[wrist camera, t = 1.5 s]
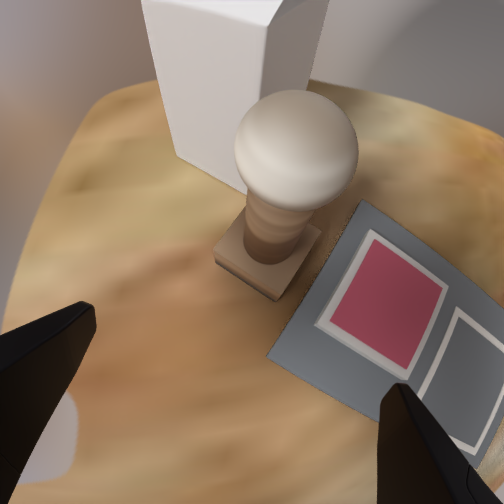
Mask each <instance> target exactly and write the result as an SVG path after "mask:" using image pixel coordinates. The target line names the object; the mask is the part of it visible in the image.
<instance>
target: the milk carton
mask: <svg viewBox="0 0 504 504" xmlns="http://www.w3.org/2000/svg"><path fill="white" fill-rule="evenodd" d="M141 3H142V8H143V13H144V18H145V23H146V28H147V33H148V38H149V42H150V46H151V51H152V56H153V60H154V65H155V69H156V74H157V78H158V82H159V87H160V91H161V95H162V99H163V103H164V107H165V111H166V115H167V119H168V123H169V127H170V131H171V135H172V139H173V143H174V147H175V151H176V154H177V156H178V157H180V158H181V159H183V160H185V161H187V162H189V163H190V164H192V165H194V166H196V167H198V168H199V169H201V170H203V171H205V172H207V173H208V174H210V175H212V176H214V177H215V178H217V179H219V180H221V181H222V182H224V183H226V184H228V185H229V186H231V187H233V188H235V189H236V190H238V191H240V192H242V193H243V194H245V195H247V186H246V185H245V184H244V182H243V180H242V179H241V177H240V175H239V172H238V170H237V167H236V163H235V157H234V141H235V135H236V132H237V129H238V127H239V124H240V122H241V120H242V119H243V117H244V115H245V114H246V113H247V111H248V110H249V109H250V108H251V107H252V106H253V105H254V104H256V103H257V102H258V101H260V100H261V99H263V98H264V97H266V96H268V95H270V94H273V93H276V92H279V91H284V90H306V88H307V85H308V81H309V77H310V73H311V69H312V65H313V62H314V58H315V54H316V50H317V46H318V43H319V39H320V35H321V31H322V27H323V23H324V19H325V15H326V12H327V7H328V3H329V0H141Z"/></svg>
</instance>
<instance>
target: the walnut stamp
mask: <svg viewBox="0 0 504 504" xmlns="http://www.w3.org/2000/svg"><path fill="white" fill-rule="evenodd" d="M358 153H359V150H358V141H357V137H356V133H355V130H354V128H353V126H352V124H351V122H350V120H349V118H348V117H347V116H346V114H345V113H344V112H343V111H342V110H341V109H340V108H339V107H338V106H337V105H336V104H335V103H334V102H332V101H331V100H329V99H328V98H326V97H324V96H322V95H319V94H317V93H314V92H310V91H306V90H284V91H279V92H276V93H273V94H270V95H268V96H266V97H264V98H263V99H261V100H260V101H258V102H257V103H256V104H254V105H253V106H252V107H251V108H250V109H249V110H248V111H247V113H246V114H245V115H244V117H243V119H242V120H241V122H240V124H239V127H238V129H237V132H236V135H235V141H234V157H235V163H236V167H237V170H238V172H239V175H240V177H241V179H242V180H243V182H244V184H245V185H246V186H247V200H246V206H245V207H244V209H243V210H242V211H241V213H240V214H239V215H238V217H237V218H236V219H235V221H234V222H233V223H232V225H231V226H230V227H229V229H228V230H227V231H226V233H225V234H224V235H223V237H222V238H221V239H220V241H219V242H218V243H217V245H216V246H215V247H214V249H213V253H214V258H215V263H217V264H218V265H220V266H221V267H223V268H224V269H226V270H227V271H229V272H230V273H232V274H233V275H235V276H236V277H238V278H239V279H241V280H242V281H244V282H245V283H247V284H248V285H250V286H251V287H253V288H254V289H256V290H257V291H259V292H260V293H262V294H263V295H265V296H266V297H268V298H269V299H271V300H272V301H274V302H276V301H277V300H278V299H279V297H280V296H281V295H282V293H283V292H284V290H285V289H286V287H287V286H288V284H289V283H290V281H291V280H292V278H293V276H294V275H295V273H296V272H297V270H298V269H299V267H300V265H301V264H302V262H303V261H304V259H305V257H306V256H307V254H308V253H309V251H310V250H311V248H312V246H313V245H314V243H315V241H316V240H317V238H318V237H319V235H320V233H321V232H322V231H321V230H320V229H318V228H317V227H315V226H314V225H312V224H310V223H309V221H310V219H311V217H312V215H313V213H314V212H315V210H316V209H317V208H320V207H323V206H325V205H327V204H329V203H330V202H332V201H333V200H334V199H336V198H337V197H339V196H340V195H341V194H342V192H343V191H344V190H345V189H346V188H347V186H348V185H349V184H350V182H351V180H352V178H353V176H354V174H355V171H356V167H357V163H358Z"/></svg>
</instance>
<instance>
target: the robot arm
mask: <svg viewBox="0 0 504 504" xmlns="http://www.w3.org/2000/svg"><path fill="white" fill-rule="evenodd" d="M95 332H96V317H95V309H94V306H93V305H92V304H89V303H87V302H84V301H79V302H77V303H75V304H72V305H70V306H67V307H65V308H63V309H60V310H58V311H56V312H53V313H51V314H48V315H46V316H44V317H41V318H39V319H37V320H34V321H32V322H30V323H27V324H25V325H23V326H21V327H18V328H16V329H14V330H11V331H9V332H7V333H4V334H2V335H0V504H8V502H9V500H10V498H11V495H12V493H13V491H14V489H15V487H16V484H17V482H18V480H19V478H20V476H21V473H22V471H23V469H24V467H25V465H26V463H27V461H28V459H29V457H30V455H31V453H32V451H33V449H34V447H35V445H36V443H37V441H38V440H39V438H40V436H41V434H42V432H43V430H44V428H45V427H46V425H47V423H48V421H49V419H50V417H51V416H52V414H53V412H54V410H55V408H56V407H57V405H58V403H59V401H60V400H61V398H62V396H63V394H64V393H65V391H66V389H67V388H68V386H69V384H70V383H71V381H72V379H73V377H74V376H75V374H76V372H77V370H78V368H79V366H80V364H81V362H82V359H83V357H84V355H85V353H86V351H87V349H88V347H89V344H90V342H91V340H92V338H93V336H94V334H95ZM377 504H503V503H502V502H501V501H500V500H499V499H498V498H497V497H496V495H495V494H494V493H493V492H492V491H491V490H490V488H489V487H488V486H487V485H486V484H485V483H484V481H483V480H482V479H481V477H480V476H479V475H478V474H477V472H476V471H475V470H474V468H473V467H472V466H471V464H469V462H468V460H467V459H466V458H465V456H464V455H463V454H462V452H461V451H460V450H459V448H458V447H457V446H456V444H455V443H454V442H453V441H452V439H451V438H450V437H449V435H448V434H447V433H446V432H445V430H444V429H443V428H442V426H441V425H440V424H439V423H438V421H437V420H436V419H435V417H434V416H433V415H432V414H431V412H430V411H429V410H428V409H427V407H426V406H425V405H424V403H423V402H422V401H421V400H420V398H419V397H418V396H417V395H416V393H415V392H414V391H413V390H412V389H411V387H410V386H409V385H408V384H405V383H398V382H397V383H395V384H393V385H392V387H391V388H390V389H389V391H388V392H387V393H386V394H385V396H384V397H383V398H382V400H381V403H380V415H379V430H378V443H377Z"/></svg>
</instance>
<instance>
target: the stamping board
mask: <svg viewBox="0 0 504 504" xmlns="http://www.w3.org/2000/svg"><path fill="white" fill-rule="evenodd" d="M266 357H267V358H268V359H270V360H272V361H273V362H275V363H276V364H278V365H279V366H281V367H283V368H284V369H286V370H288V371H289V372H291V373H292V374H294V375H296V376H297V377H299V378H301V379H302V380H304V381H306V382H307V383H309V384H311V385H312V386H314V387H316V388H317V389H319V390H321V391H323V392H324V393H326V394H328V395H329V396H331V397H333V398H335V399H336V400H338V401H340V402H342V403H344V404H345V405H347V406H349V407H351V408H352V409H354V410H356V411H358V412H360V413H362V414H363V415H365V416H367V417H369V418H371V419H373V420H375V421H377V422H378V423H379V415H380V403H381V400H382V398H383V397H384V396H385V394H386V393H387V392H388V391H389V389H390V388H391V387H392V385H393V384H395V383H397V382H398V383H405V384H408V385H409V386H410V387H411V389H412V390H413V391H414V392H415V393H416V395H417V396H418V397H419V398H420V400H421V401H422V402H423V403H424V405H425V406H426V407H427V409H428V410H429V411H430V412H431V414H432V415H433V416H434V417H435V419H436V420H437V421H438V423H439V424H440V425H441V426H442V428H443V429H444V430H445V432H446V433H447V434H448V435H449V437H450V438H451V439H452V441H453V442H454V443H455V444H456V446H457V447H458V448H459V450H460V451H461V452H462V454H463V455H464V456H465V458H466V459H467V460H468V462H469V464H471V466H472V467H474V468H476V469H477V468H478V466H479V464H480V462H481V461H482V459H483V457H484V455H485V453H486V451H487V449H488V447H489V446H490V444H491V442H492V440H493V438H494V435H495V433H496V431H497V429H498V427H499V425H500V423H501V420H502V418H503V416H504V309H503V308H502V307H501V306H500V305H499V304H498V303H496V302H495V301H494V300H493V299H492V298H491V297H490V296H489V295H487V294H486V293H485V292H484V291H483V290H482V289H480V288H479V287H478V286H477V285H476V284H475V283H473V282H472V281H471V280H470V279H469V278H468V277H466V276H465V275H464V274H463V273H461V272H460V271H459V270H458V269H457V268H455V267H454V266H453V265H452V264H450V263H449V262H448V261H447V260H445V259H444V258H443V257H442V256H440V255H439V254H438V253H436V252H435V251H434V250H433V249H431V248H430V247H429V246H427V245H426V244H425V243H423V242H422V241H421V240H419V239H418V238H417V237H415V236H414V235H413V234H411V233H410V232H409V231H407V230H406V229H404V228H403V227H402V226H400V225H399V224H398V223H396V222H395V221H393V220H392V219H390V218H389V217H388V216H386V215H385V214H383V213H382V212H380V211H379V210H378V209H376V208H375V207H373V206H372V205H370V204H369V203H367V202H366V201H364V200H363V199H362V200H361V201H360V203H359V204H358V206H357V208H356V210H355V212H354V213H353V215H352V217H351V219H350V221H349V222H348V224H347V226H346V228H345V229H344V231H343V233H342V235H341V236H340V238H339V240H338V242H337V243H336V245H335V247H334V248H333V250H332V252H331V254H330V255H329V257H328V259H327V260H326V262H325V264H324V265H323V267H322V269H321V270H320V272H319V274H318V275H317V277H316V279H315V280H314V282H313V283H312V285H311V287H310V288H309V290H308V292H307V293H306V295H305V296H304V298H303V300H302V301H301V303H300V304H299V306H298V308H297V309H296V311H295V312H294V314H293V315H292V317H291V319H290V320H289V322H288V323H287V325H286V326H285V328H284V329H283V331H282V333H281V334H280V336H279V337H278V339H277V340H276V342H275V343H274V345H273V346H272V348H271V349H270V351H269V352H268V354H267V355H266Z"/></svg>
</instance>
